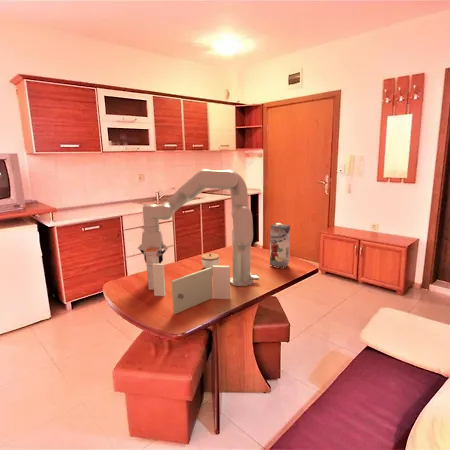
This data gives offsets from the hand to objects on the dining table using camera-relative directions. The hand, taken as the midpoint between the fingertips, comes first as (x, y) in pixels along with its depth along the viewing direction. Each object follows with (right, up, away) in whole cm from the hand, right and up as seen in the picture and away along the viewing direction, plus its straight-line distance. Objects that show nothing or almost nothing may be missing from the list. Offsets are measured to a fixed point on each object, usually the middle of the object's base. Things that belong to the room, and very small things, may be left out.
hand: (153, 261), depth 165 cm
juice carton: (+70, -6, +28) cm, 75 cm away
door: (+23, -17, -22) cm, 36 cm away
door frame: (+21, -15, -12) cm, 29 cm away
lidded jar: (+28, -7, +26) cm, 39 cm away
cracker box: (0, -13, +3) cm, 13 cm away
